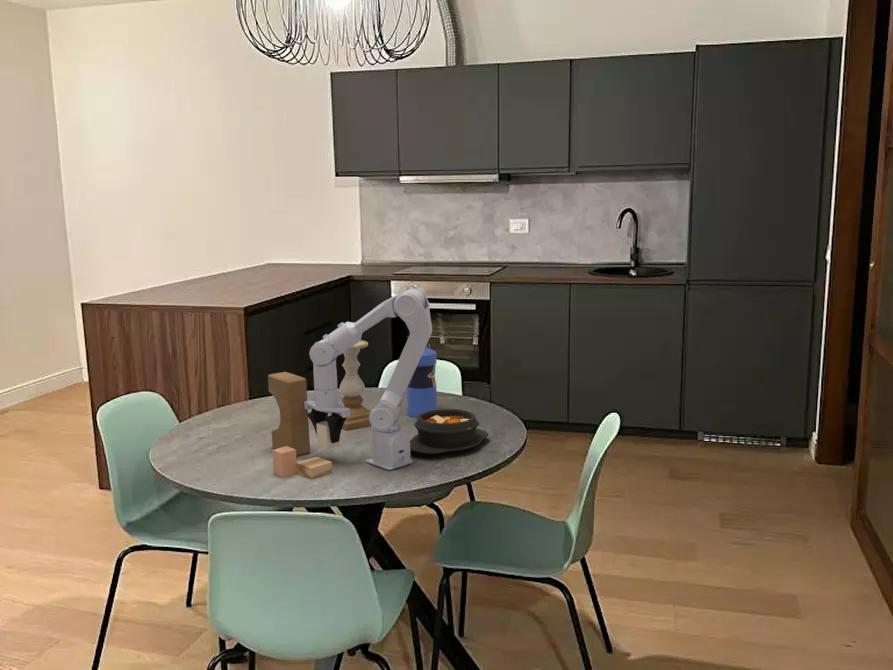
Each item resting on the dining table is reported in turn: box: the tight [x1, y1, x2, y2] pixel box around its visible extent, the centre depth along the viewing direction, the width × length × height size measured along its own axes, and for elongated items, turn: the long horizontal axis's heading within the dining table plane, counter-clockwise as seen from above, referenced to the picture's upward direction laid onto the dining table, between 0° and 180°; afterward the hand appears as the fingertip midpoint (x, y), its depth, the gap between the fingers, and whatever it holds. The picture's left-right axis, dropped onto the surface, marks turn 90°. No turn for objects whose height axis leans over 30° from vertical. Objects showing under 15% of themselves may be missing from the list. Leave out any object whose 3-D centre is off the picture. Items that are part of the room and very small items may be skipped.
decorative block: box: [267, 371, 311, 457], centre depth 211 cm, size 11×6×20 cm, turn 38°
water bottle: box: [406, 343, 438, 419], centre depth 243 cm, size 9×9×25 cm
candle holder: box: [339, 339, 372, 431], centre depth 235 cm, size 11×11×24 cm
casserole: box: [410, 408, 489, 455], centre depth 213 cm, size 25×19×8 cm
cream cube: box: [316, 421, 341, 450], centre depth 203 cm, size 4×4×6 cm
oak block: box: [296, 456, 333, 480], centre depth 195 cm, size 6×6×3 cm
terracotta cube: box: [271, 446, 297, 478], centre depth 195 cm, size 4×4×6 cm
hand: (328, 440), depth 203 cm, fingers closed on cream cube, 4 cm apart
